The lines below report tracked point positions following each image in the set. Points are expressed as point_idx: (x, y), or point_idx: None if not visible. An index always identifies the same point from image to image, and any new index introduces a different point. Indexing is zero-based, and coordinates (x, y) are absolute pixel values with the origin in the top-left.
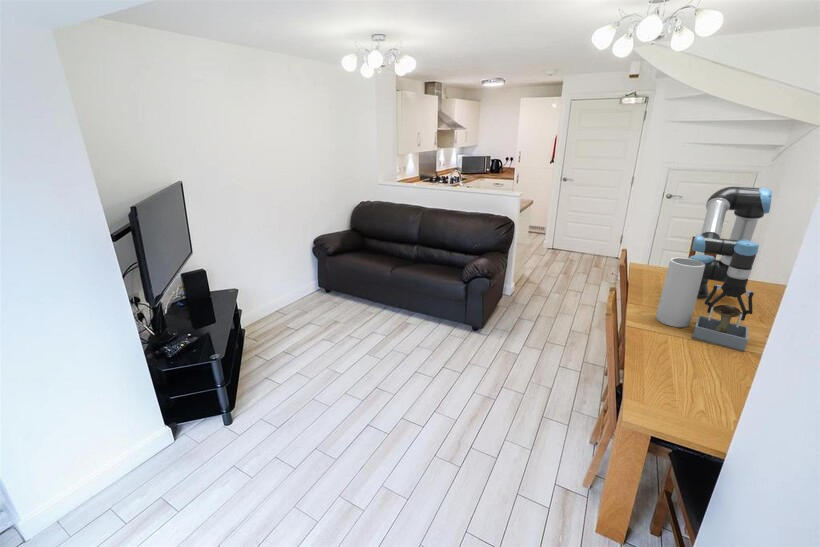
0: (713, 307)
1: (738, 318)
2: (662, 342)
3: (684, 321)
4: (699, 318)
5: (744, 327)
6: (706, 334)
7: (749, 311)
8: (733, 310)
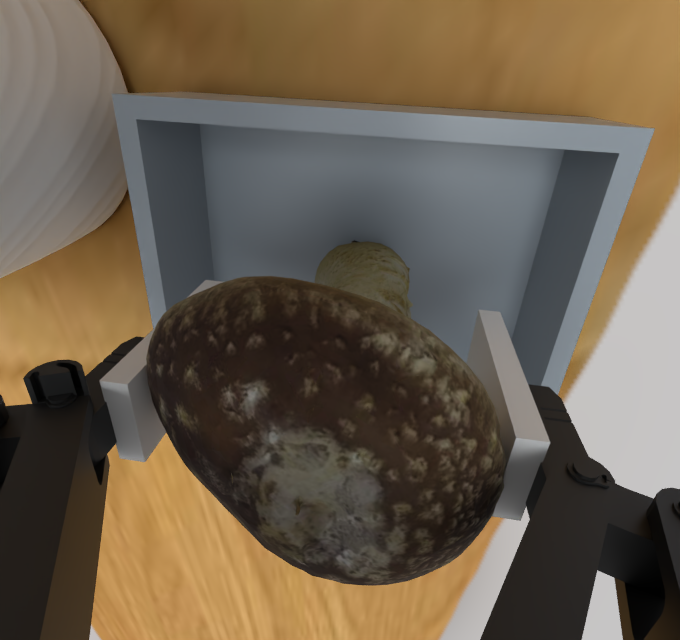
0: (138, 450)
1: (491, 368)
2: (111, 471)
3: (79, 231)
4: (147, 202)
5: (601, 149)
6: None
7: (630, 603)
8: (377, 584)
